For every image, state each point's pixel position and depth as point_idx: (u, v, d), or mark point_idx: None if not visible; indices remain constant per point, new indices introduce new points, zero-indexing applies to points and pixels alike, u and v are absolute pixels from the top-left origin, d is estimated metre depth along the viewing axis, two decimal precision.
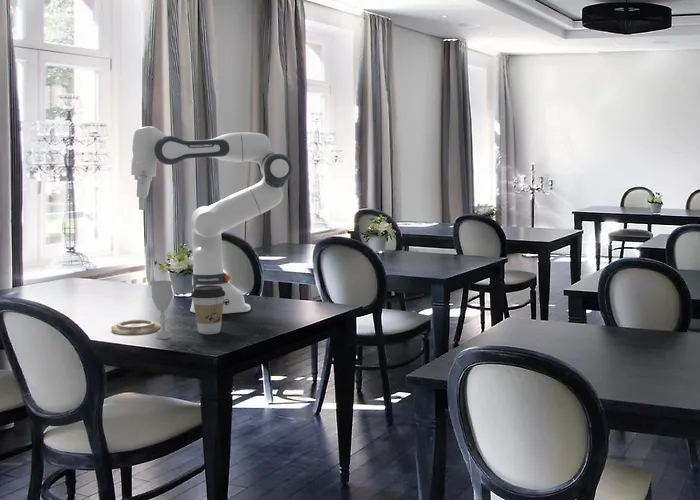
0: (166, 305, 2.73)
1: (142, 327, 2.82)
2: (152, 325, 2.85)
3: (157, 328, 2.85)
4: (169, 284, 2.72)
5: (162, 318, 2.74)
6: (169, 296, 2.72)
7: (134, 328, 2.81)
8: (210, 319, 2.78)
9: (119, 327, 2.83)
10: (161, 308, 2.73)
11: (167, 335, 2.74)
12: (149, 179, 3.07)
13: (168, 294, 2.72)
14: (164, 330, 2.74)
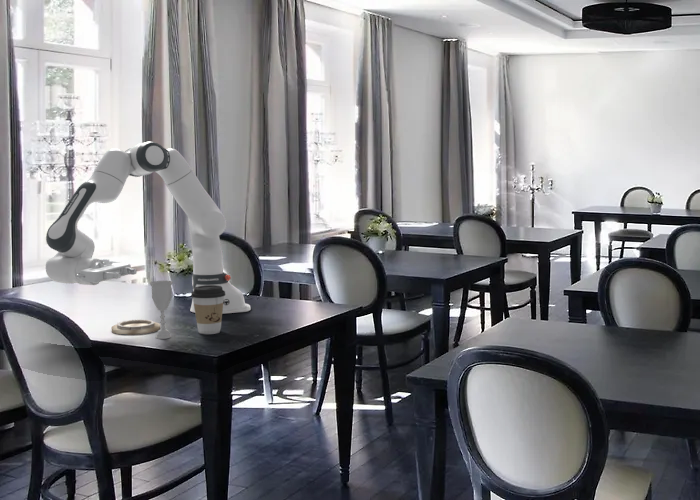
0: (166, 305, 2.73)
1: (142, 327, 2.82)
2: (152, 325, 2.85)
3: (157, 328, 2.85)
4: (169, 284, 2.72)
5: (162, 318, 2.74)
6: (169, 296, 2.72)
7: (134, 328, 2.81)
8: (210, 319, 2.78)
9: (119, 327, 2.83)
10: (161, 308, 2.73)
11: (167, 335, 2.74)
12: (94, 266, 2.78)
13: (168, 294, 2.72)
14: (164, 330, 2.74)
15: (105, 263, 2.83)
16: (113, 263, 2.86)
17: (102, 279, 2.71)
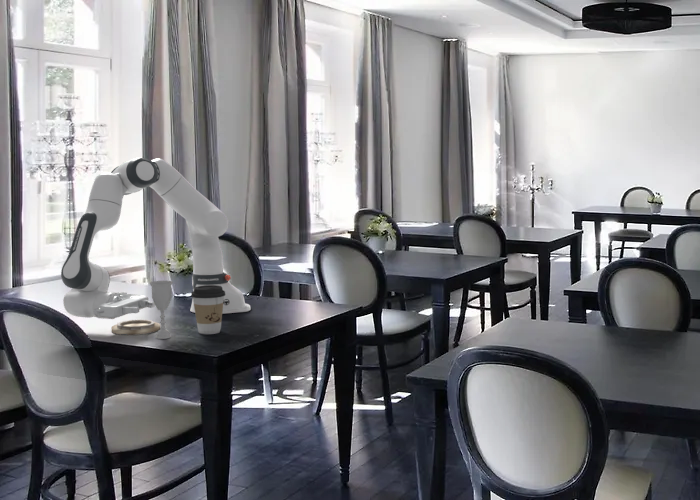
0: (166, 305, 2.73)
1: (142, 327, 2.82)
2: (152, 325, 2.85)
3: (157, 328, 2.85)
4: (169, 284, 2.72)
5: (162, 318, 2.74)
6: (169, 296, 2.72)
7: (134, 328, 2.81)
8: (210, 319, 2.78)
9: (119, 327, 2.83)
10: (161, 308, 2.73)
11: (167, 335, 2.74)
12: (112, 300, 2.77)
13: (168, 294, 2.72)
14: (164, 330, 2.74)
15: (123, 296, 2.83)
16: (131, 296, 2.86)
17: (121, 314, 2.71)
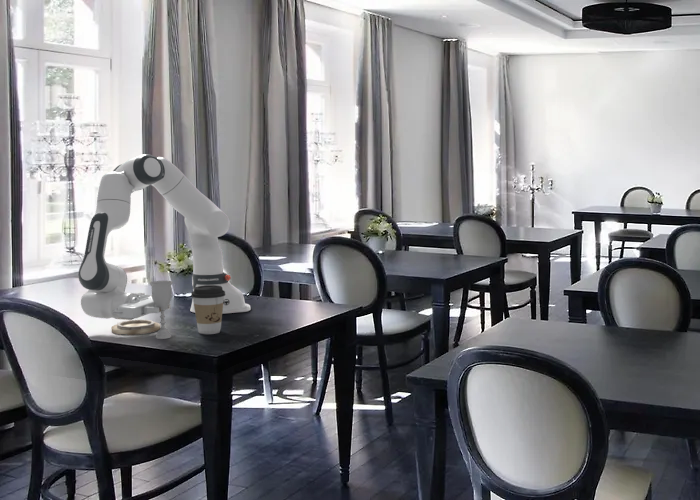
0: (166, 305, 2.73)
1: (142, 327, 2.82)
2: (152, 325, 2.85)
3: (157, 328, 2.85)
4: (169, 284, 2.72)
5: (162, 318, 2.74)
6: (169, 296, 2.72)
7: (134, 328, 2.81)
8: (210, 319, 2.78)
9: (119, 327, 2.83)
10: (161, 308, 2.73)
11: (167, 335, 2.74)
12: (130, 301, 2.75)
13: (168, 294, 2.72)
14: (164, 330, 2.74)
15: (141, 297, 2.81)
16: (149, 296, 2.84)
17: (140, 315, 2.69)
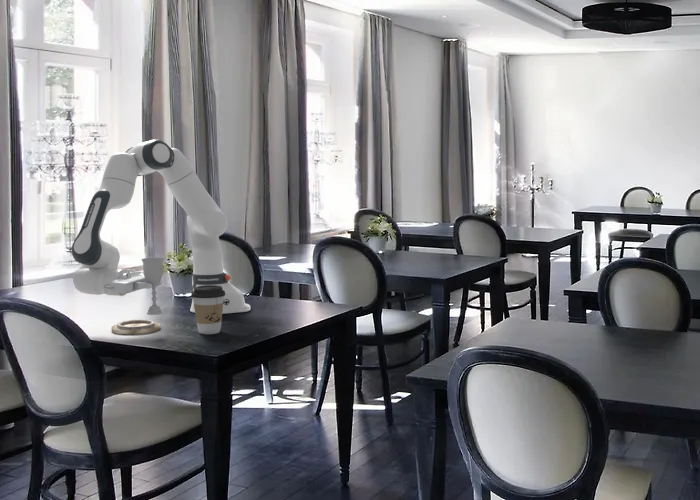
0: (157, 282, 2.76)
1: (142, 327, 2.82)
2: (152, 325, 2.85)
3: (157, 328, 2.85)
4: (161, 261, 2.75)
5: (153, 295, 2.77)
6: (160, 273, 2.75)
7: (134, 328, 2.81)
8: (210, 319, 2.78)
9: (119, 327, 2.83)
10: (152, 284, 2.76)
11: (158, 311, 2.77)
12: (122, 277, 2.78)
13: (159, 271, 2.75)
14: (155, 306, 2.77)
15: (132, 273, 2.83)
16: (140, 273, 2.87)
17: (131, 290, 2.72)
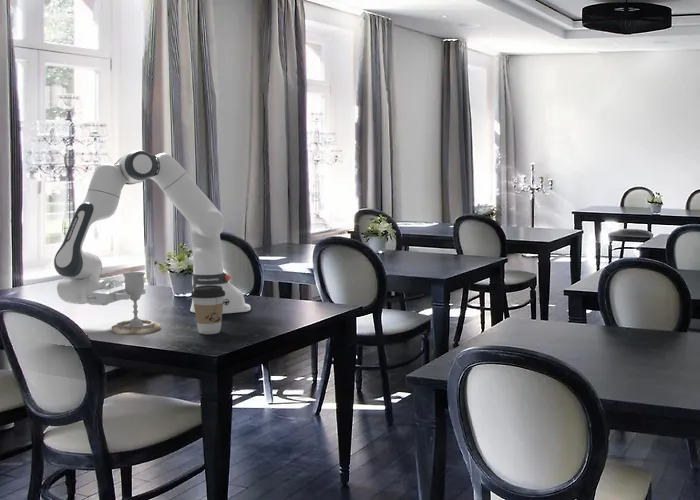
0: (138, 295, 2.85)
1: (142, 327, 2.82)
2: (152, 325, 2.85)
3: (157, 328, 2.85)
4: (141, 275, 2.84)
5: (135, 308, 2.86)
6: (141, 286, 2.84)
7: (134, 328, 2.81)
8: (210, 319, 2.78)
9: (119, 327, 2.83)
10: (133, 298, 2.84)
11: (140, 324, 2.86)
12: (104, 287, 2.86)
13: (140, 285, 2.84)
14: (137, 319, 2.86)
15: (115, 284, 2.92)
16: (122, 283, 2.95)
17: (112, 300, 2.80)
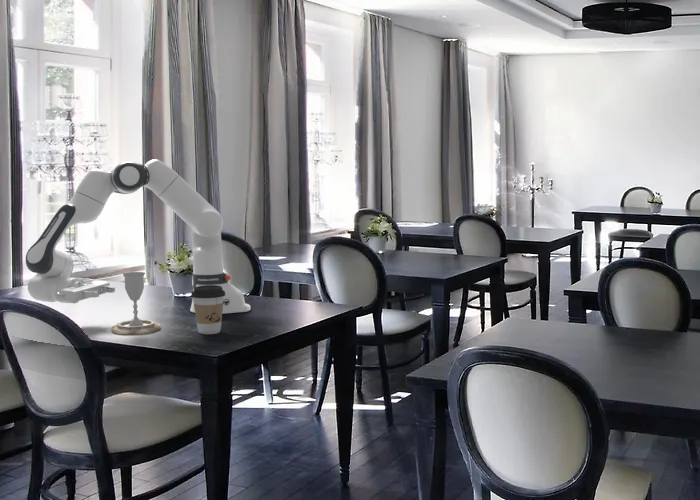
0: (138, 295, 2.85)
1: (142, 327, 2.82)
2: (152, 325, 2.85)
3: (157, 328, 2.85)
4: (141, 275, 2.84)
5: (135, 308, 2.86)
6: (141, 287, 2.84)
7: (134, 328, 2.81)
8: (210, 319, 2.78)
9: (119, 327, 2.83)
10: (133, 298, 2.84)
11: (140, 324, 2.86)
12: (74, 285, 2.90)
13: (140, 285, 2.84)
14: (137, 319, 2.86)
15: (85, 282, 2.95)
16: (93, 282, 2.99)
17: (81, 298, 2.83)
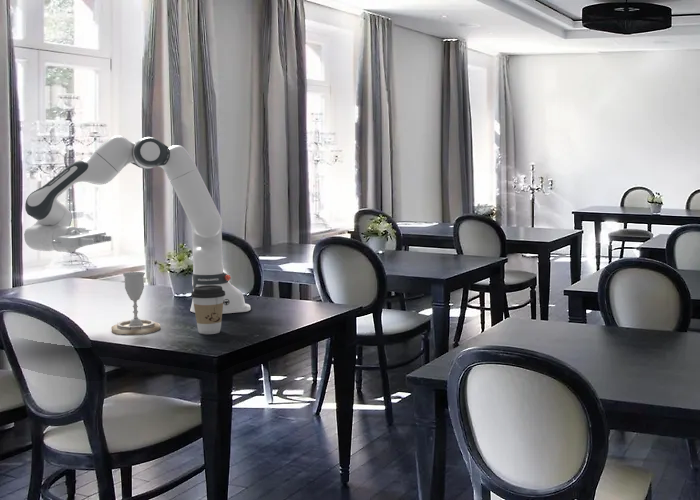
0: (138, 295, 2.85)
1: (142, 327, 2.82)
2: (152, 325, 2.85)
3: (157, 328, 2.85)
4: (141, 275, 2.84)
5: (135, 308, 2.86)
6: (141, 287, 2.84)
7: (134, 328, 2.81)
8: (210, 319, 2.78)
9: (119, 327, 2.83)
10: (133, 298, 2.84)
11: (140, 324, 2.86)
12: (70, 233, 2.90)
13: (140, 285, 2.84)
14: (137, 319, 2.86)
15: (81, 231, 2.95)
16: (89, 231, 2.98)
17: (77, 245, 2.83)
